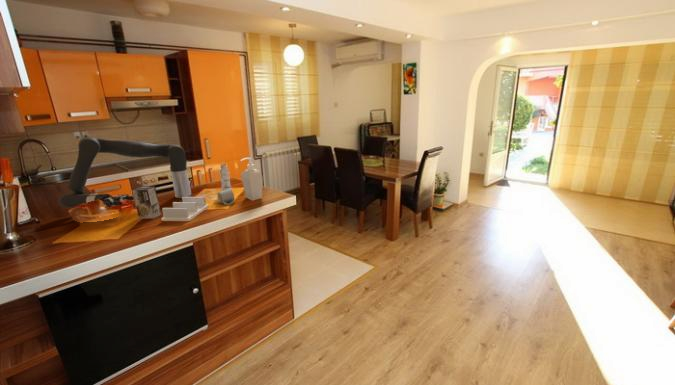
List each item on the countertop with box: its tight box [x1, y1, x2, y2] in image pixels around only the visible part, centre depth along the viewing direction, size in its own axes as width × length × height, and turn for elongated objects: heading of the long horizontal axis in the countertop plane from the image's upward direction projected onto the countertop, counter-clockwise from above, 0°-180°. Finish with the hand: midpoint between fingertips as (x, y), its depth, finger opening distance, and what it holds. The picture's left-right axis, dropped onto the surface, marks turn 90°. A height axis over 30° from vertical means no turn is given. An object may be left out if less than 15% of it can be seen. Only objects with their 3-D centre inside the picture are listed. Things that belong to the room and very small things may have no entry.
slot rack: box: [160, 196, 209, 222], centre depth 169 cm, size 21×15×6 cm
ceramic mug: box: [217, 189, 235, 206], centre depth 185 cm, size 11×8×8 cm
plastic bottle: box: [218, 163, 233, 191], centre depth 200 cm, size 6×7×20 cm
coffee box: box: [131, 186, 162, 219], centre depth 165 cm, size 9×6×16 cm
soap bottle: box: [239, 156, 264, 201], centre depth 190 cm, size 12×10×26 cm
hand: (127, 200), depth 166 cm, fingers open, 8 cm apart
